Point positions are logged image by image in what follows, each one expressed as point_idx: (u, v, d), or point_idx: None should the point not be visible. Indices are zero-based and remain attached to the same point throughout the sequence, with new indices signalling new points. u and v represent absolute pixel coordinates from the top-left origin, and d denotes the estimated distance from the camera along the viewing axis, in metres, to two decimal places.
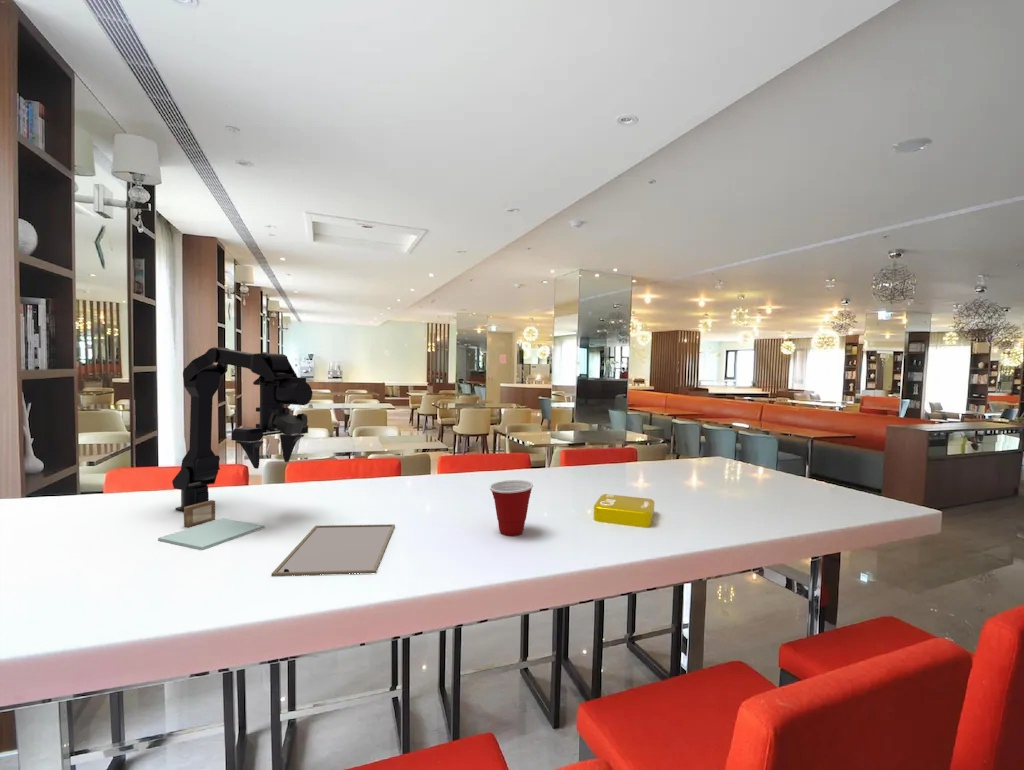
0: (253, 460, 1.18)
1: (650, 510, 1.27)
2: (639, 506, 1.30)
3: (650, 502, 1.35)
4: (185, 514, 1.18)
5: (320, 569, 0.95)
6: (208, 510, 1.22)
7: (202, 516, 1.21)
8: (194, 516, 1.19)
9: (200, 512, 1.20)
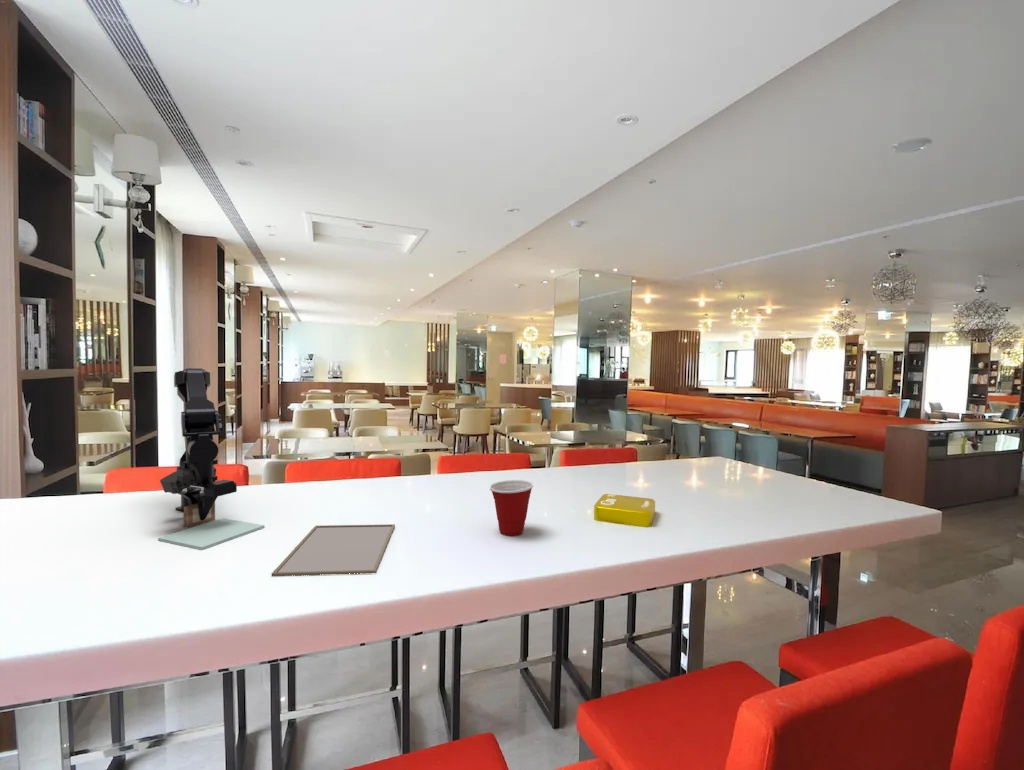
0: None
1: (650, 510, 1.27)
2: (639, 506, 1.31)
3: (651, 502, 1.35)
4: (185, 514, 1.18)
5: (320, 569, 0.95)
6: None
7: None
8: (194, 516, 1.19)
9: None
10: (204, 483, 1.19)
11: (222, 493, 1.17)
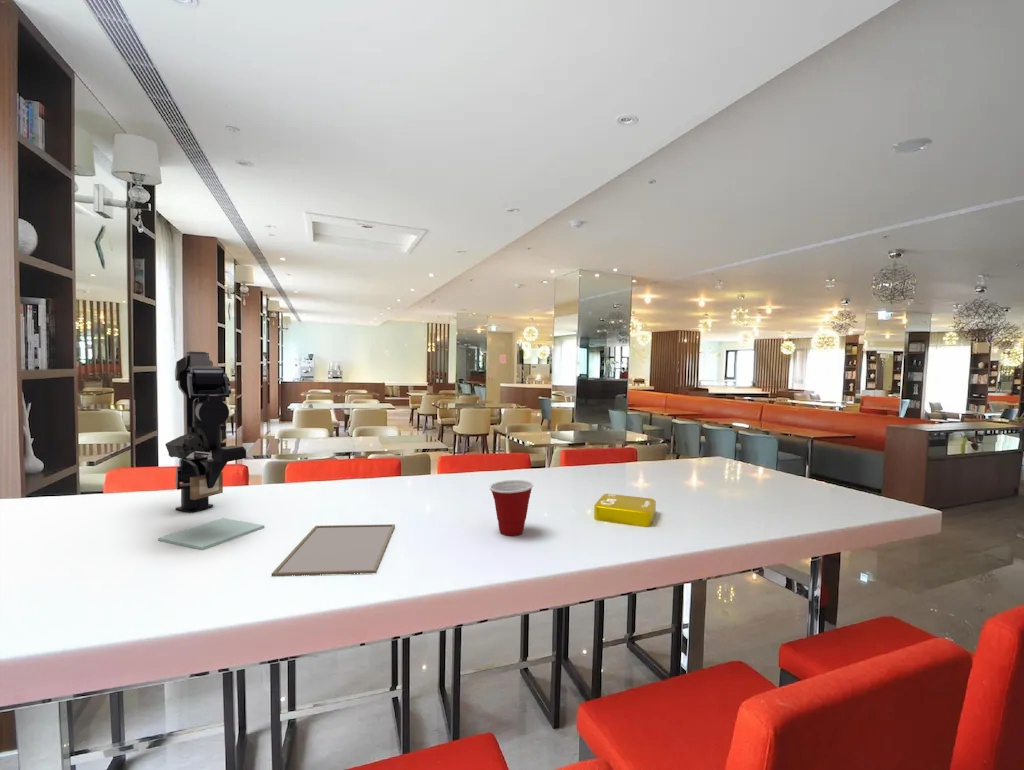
0: None
1: (650, 510, 1.28)
2: (640, 506, 1.31)
3: (651, 502, 1.35)
4: (191, 485, 1.11)
5: (320, 569, 0.95)
6: None
7: None
8: (201, 487, 1.12)
9: None
10: (212, 449, 1.12)
11: (231, 458, 1.10)
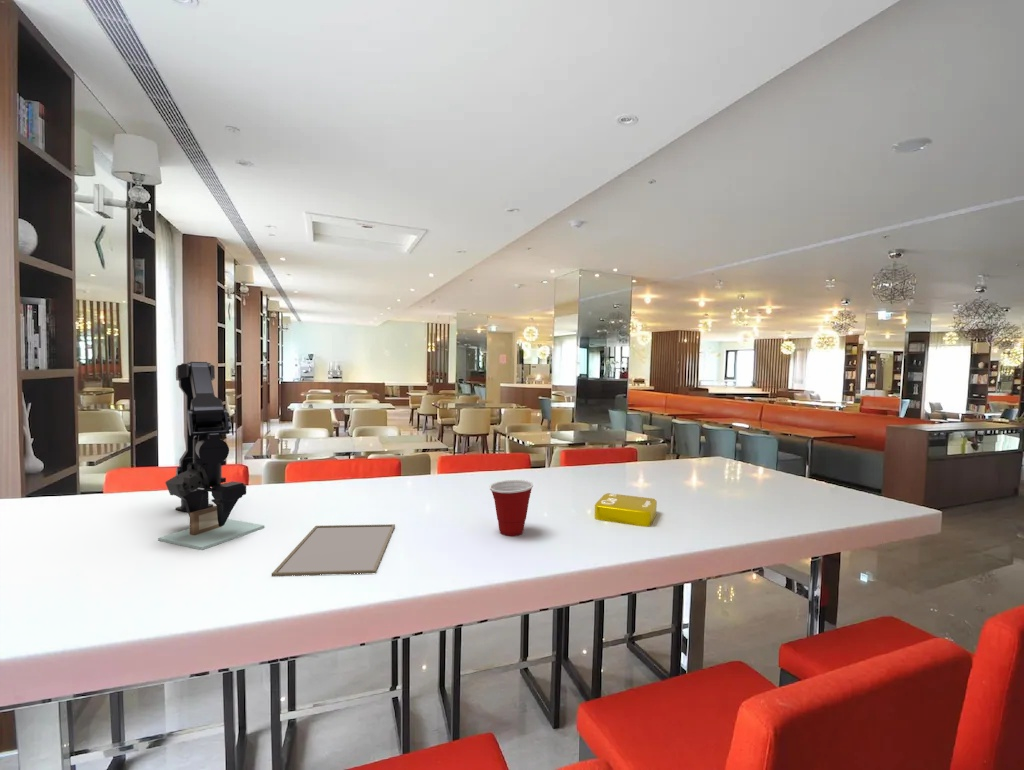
0: None
1: (650, 509, 1.28)
2: (640, 505, 1.31)
3: (652, 502, 1.35)
4: (191, 520, 1.11)
5: (320, 569, 0.95)
6: (215, 516, 1.16)
7: (208, 523, 1.14)
8: (200, 522, 1.12)
9: (206, 518, 1.14)
10: (212, 485, 1.13)
11: (231, 496, 1.10)
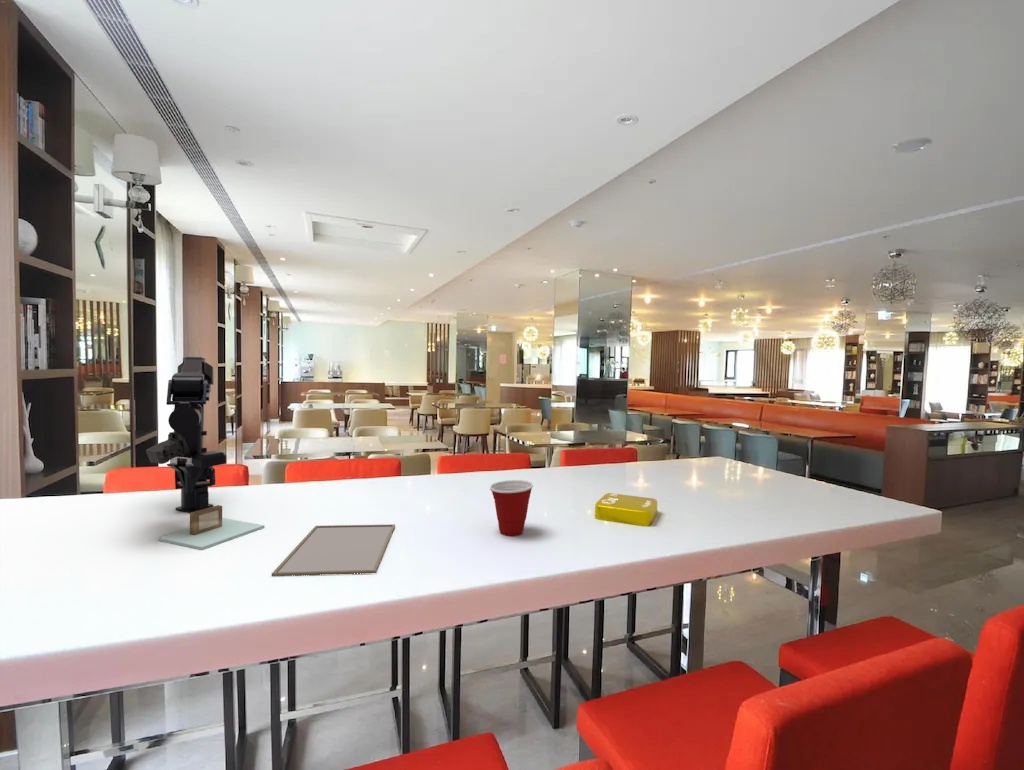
0: None
1: (650, 509, 1.28)
2: (640, 505, 1.31)
3: (652, 502, 1.35)
4: (191, 520, 1.11)
5: (320, 569, 0.95)
6: (215, 516, 1.16)
7: (208, 523, 1.14)
8: (200, 522, 1.12)
9: (206, 518, 1.14)
10: (192, 454, 1.15)
11: (211, 464, 1.12)
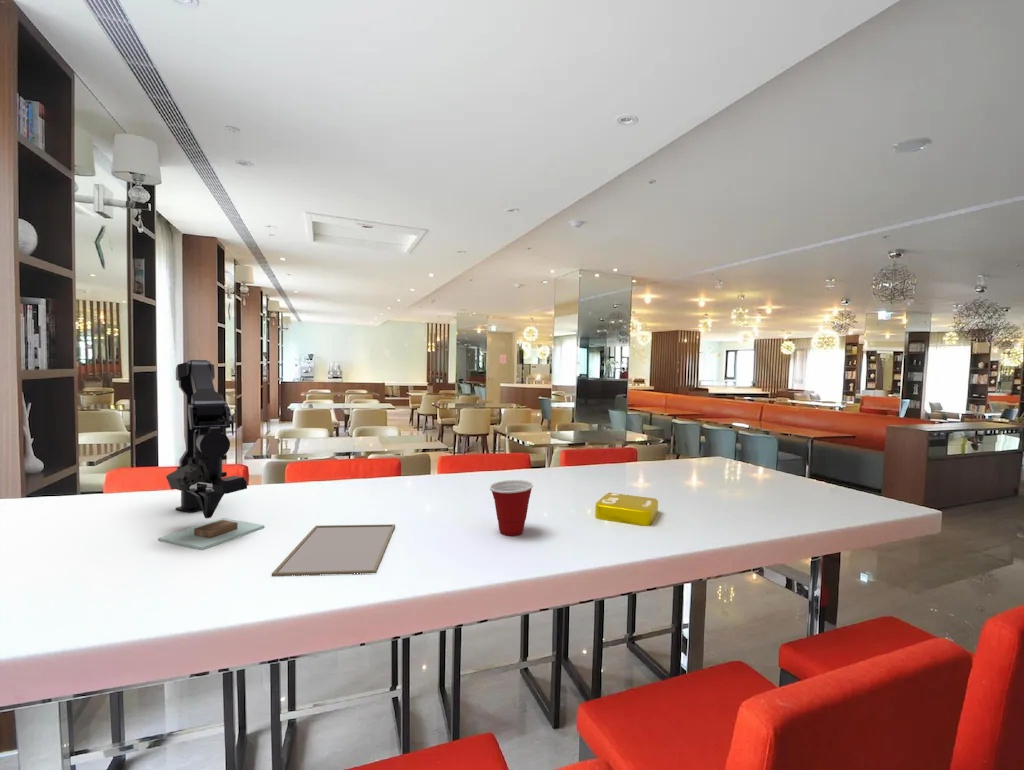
0: None
1: (651, 509, 1.28)
2: (641, 505, 1.31)
3: (653, 501, 1.35)
4: (204, 532, 1.10)
5: (320, 569, 0.95)
6: None
7: None
8: None
9: None
10: (213, 479, 1.12)
11: (232, 490, 1.10)
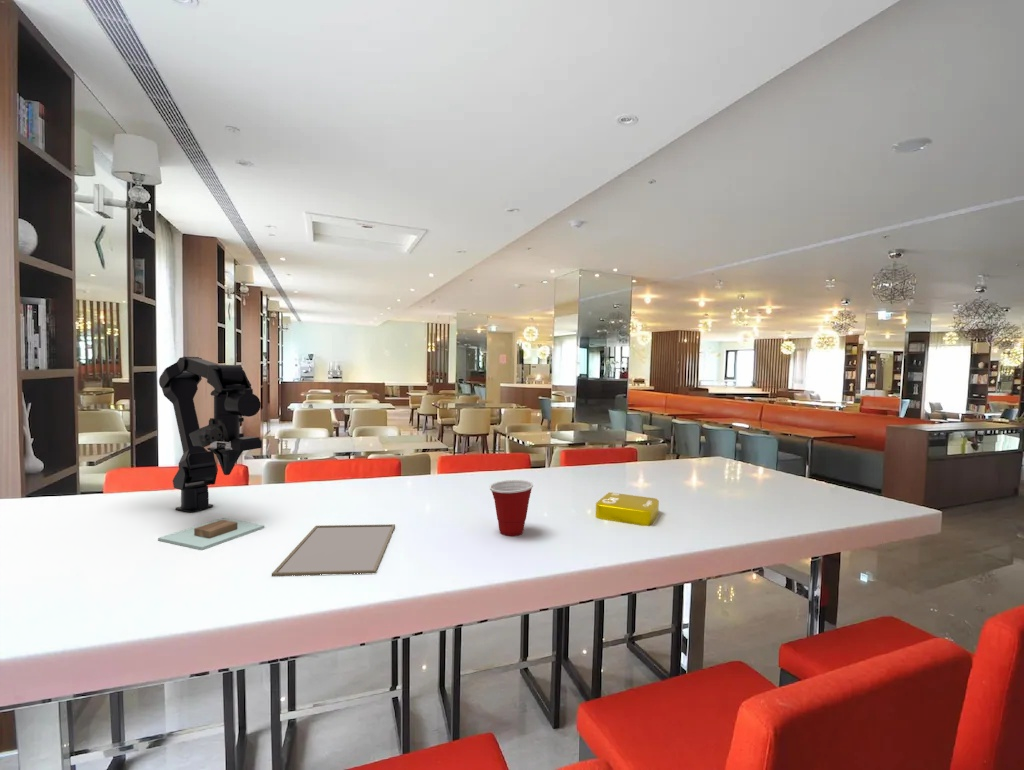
0: None
1: (651, 509, 1.28)
2: (641, 505, 1.32)
3: (654, 501, 1.35)
4: (204, 532, 1.10)
5: (320, 569, 0.95)
6: None
7: None
8: None
9: None
10: (231, 439, 1.22)
11: (248, 448, 1.19)
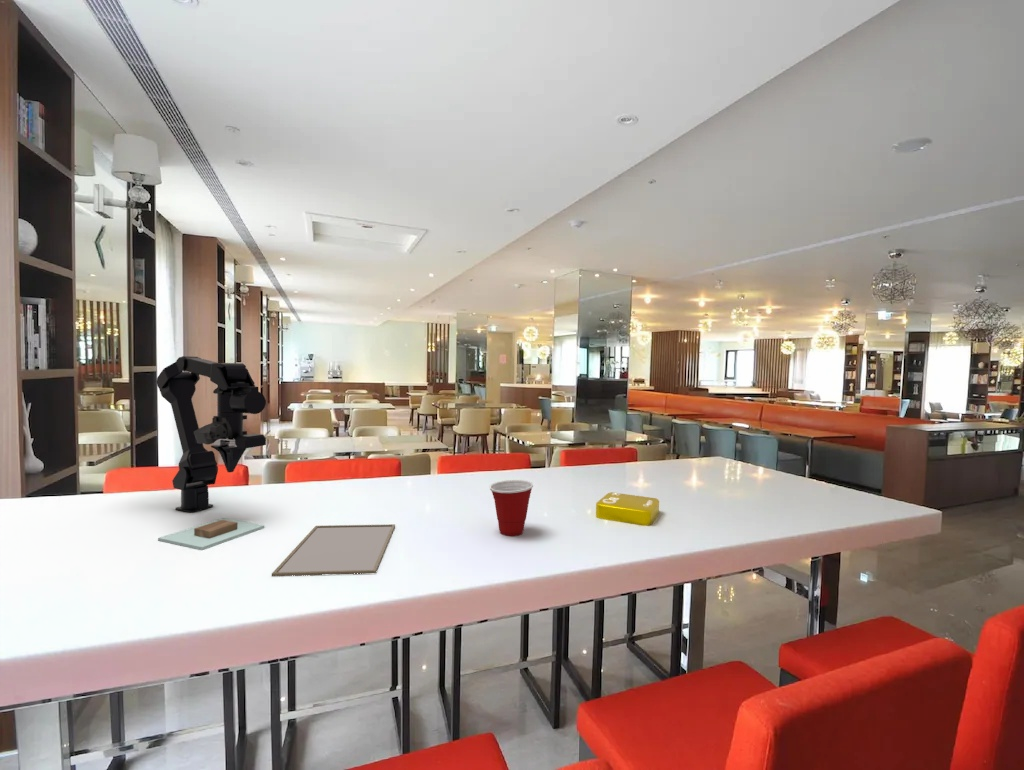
0: None
1: (651, 509, 1.28)
2: (641, 505, 1.32)
3: (654, 501, 1.35)
4: (204, 532, 1.10)
5: (320, 569, 0.95)
6: None
7: None
8: None
9: None
10: (235, 436, 1.23)
11: (253, 445, 1.21)
